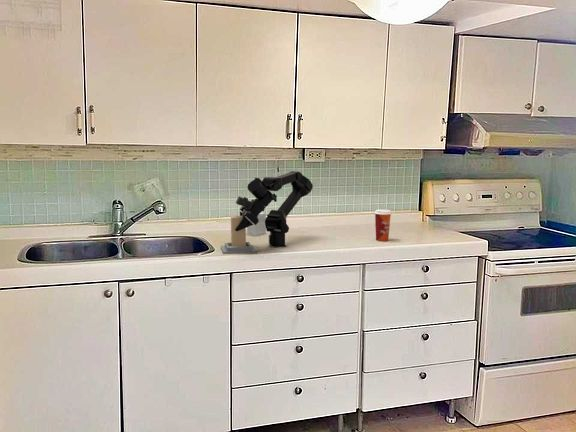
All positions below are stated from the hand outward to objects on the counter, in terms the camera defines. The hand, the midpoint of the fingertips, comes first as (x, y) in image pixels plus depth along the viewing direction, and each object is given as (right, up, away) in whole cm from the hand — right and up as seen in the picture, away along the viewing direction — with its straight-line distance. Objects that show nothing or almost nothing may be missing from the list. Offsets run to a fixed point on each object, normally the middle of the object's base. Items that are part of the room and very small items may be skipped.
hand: (235, 229), depth 238 cm
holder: (+1, -9, +2) cm, 9 cm away
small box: (+7, -4, +37) cm, 38 cm away
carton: (+1, -7, +1) cm, 7 cm away
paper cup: (+66, -6, +24) cm, 71 cm away
